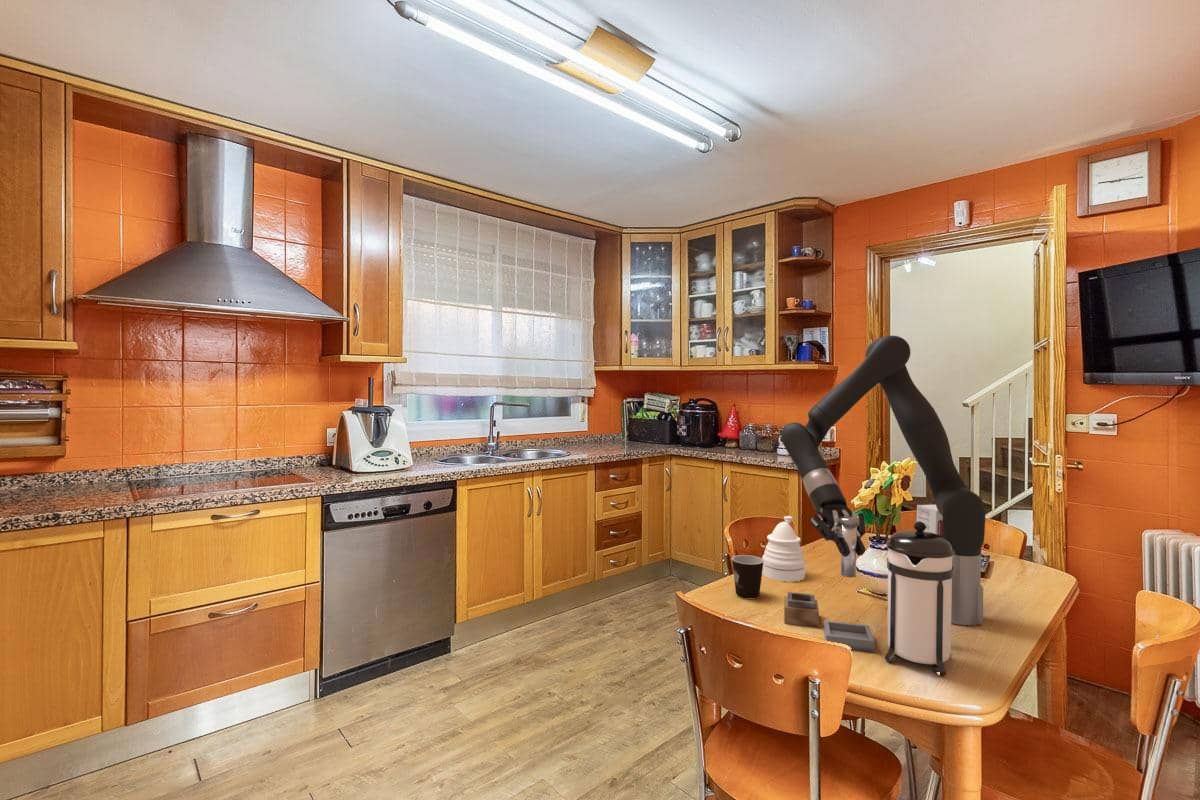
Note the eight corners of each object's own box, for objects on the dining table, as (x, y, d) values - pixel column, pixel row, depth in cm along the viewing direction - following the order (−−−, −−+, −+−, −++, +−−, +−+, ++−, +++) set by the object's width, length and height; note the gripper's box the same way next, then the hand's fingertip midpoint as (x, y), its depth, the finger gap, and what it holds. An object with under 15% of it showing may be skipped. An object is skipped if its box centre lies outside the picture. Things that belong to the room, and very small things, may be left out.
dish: (868, 635, 137) (868, 625, 137) (874, 652, 128) (874, 641, 128) (823, 630, 140) (823, 620, 140) (826, 646, 131) (826, 635, 131)
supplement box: (934, 559, 197) (935, 510, 196) (914, 551, 206) (915, 504, 205) (959, 557, 199) (959, 508, 198) (938, 550, 208) (938, 503, 207)
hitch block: (816, 614, 149) (817, 593, 149) (818, 627, 142) (819, 605, 142) (784, 611, 152) (784, 590, 152) (784, 623, 144) (784, 601, 144)
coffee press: (980, 675, 118) (983, 529, 117) (905, 678, 117) (908, 531, 116) (926, 638, 136) (928, 510, 135) (860, 640, 134) (862, 512, 133)
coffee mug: (764, 601, 159) (764, 565, 158) (732, 599, 160) (732, 563, 160) (761, 586, 170) (761, 553, 170) (731, 584, 172) (731, 551, 171)
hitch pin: (857, 573, 135) (858, 517, 135) (859, 579, 131) (860, 521, 131) (837, 571, 136) (838, 515, 136) (839, 577, 132) (840, 519, 132)
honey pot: (781, 566, 189) (782, 511, 189) (814, 577, 178) (814, 519, 178) (753, 572, 183) (753, 516, 182) (785, 585, 172) (786, 524, 171)
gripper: (804, 483, 139) (834, 548, 127) (855, 481, 142) (890, 544, 130) (791, 500, 144) (819, 564, 133) (841, 498, 147) (873, 560, 136)
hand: (854, 554), depth 132 cm, fingers closed on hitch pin, 3 cm apart
